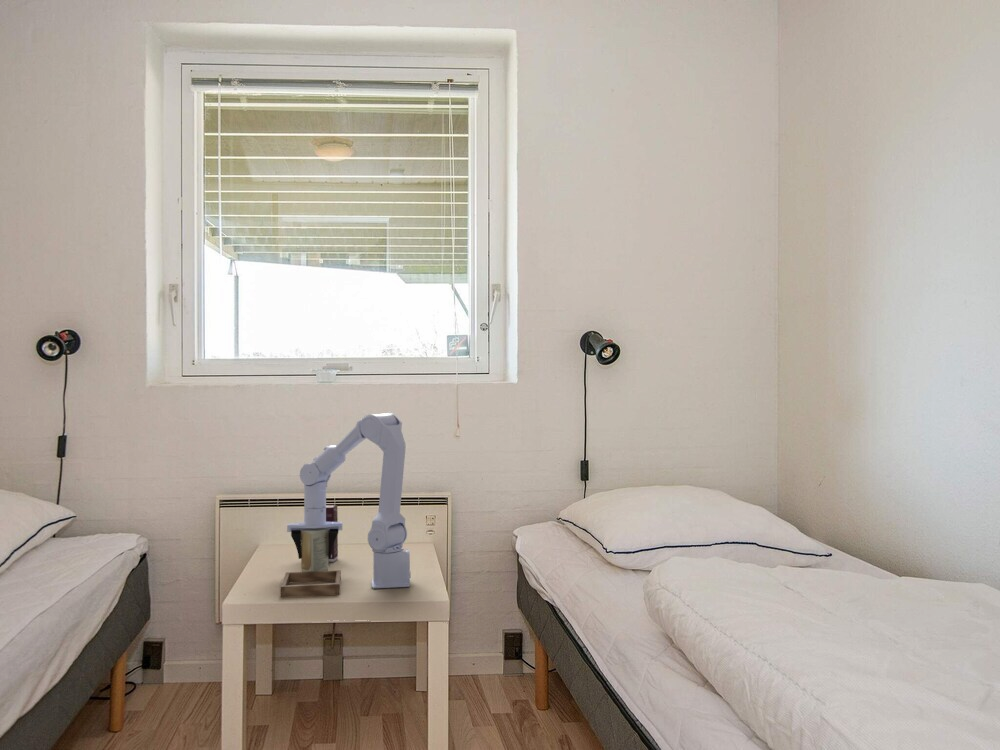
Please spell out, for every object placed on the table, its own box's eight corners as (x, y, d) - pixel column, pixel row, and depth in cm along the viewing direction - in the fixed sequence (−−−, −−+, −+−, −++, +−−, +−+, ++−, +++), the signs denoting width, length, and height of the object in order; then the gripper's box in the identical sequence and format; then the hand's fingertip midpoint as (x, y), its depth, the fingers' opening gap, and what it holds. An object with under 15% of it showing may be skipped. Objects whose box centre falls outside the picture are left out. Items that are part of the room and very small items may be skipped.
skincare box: (318, 568, 212) (319, 525, 211) (329, 571, 210) (329, 527, 209) (299, 574, 207) (300, 529, 206) (310, 577, 204) (311, 532, 204)
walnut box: (340, 579, 203) (340, 570, 203) (339, 594, 189) (339, 584, 189) (285, 582, 200) (285, 572, 200) (280, 597, 186) (280, 586, 186)
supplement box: (338, 558, 226) (338, 504, 226) (334, 562, 222) (334, 507, 222) (309, 558, 227) (309, 504, 227) (304, 562, 222) (304, 507, 222)
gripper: (342, 504, 213) (342, 552, 213) (288, 505, 211) (288, 555, 211) (342, 508, 207) (342, 558, 206) (286, 509, 204) (286, 561, 204)
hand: (315, 557), depth 208 cm, fingers closed on skincare box, 7 cm apart
